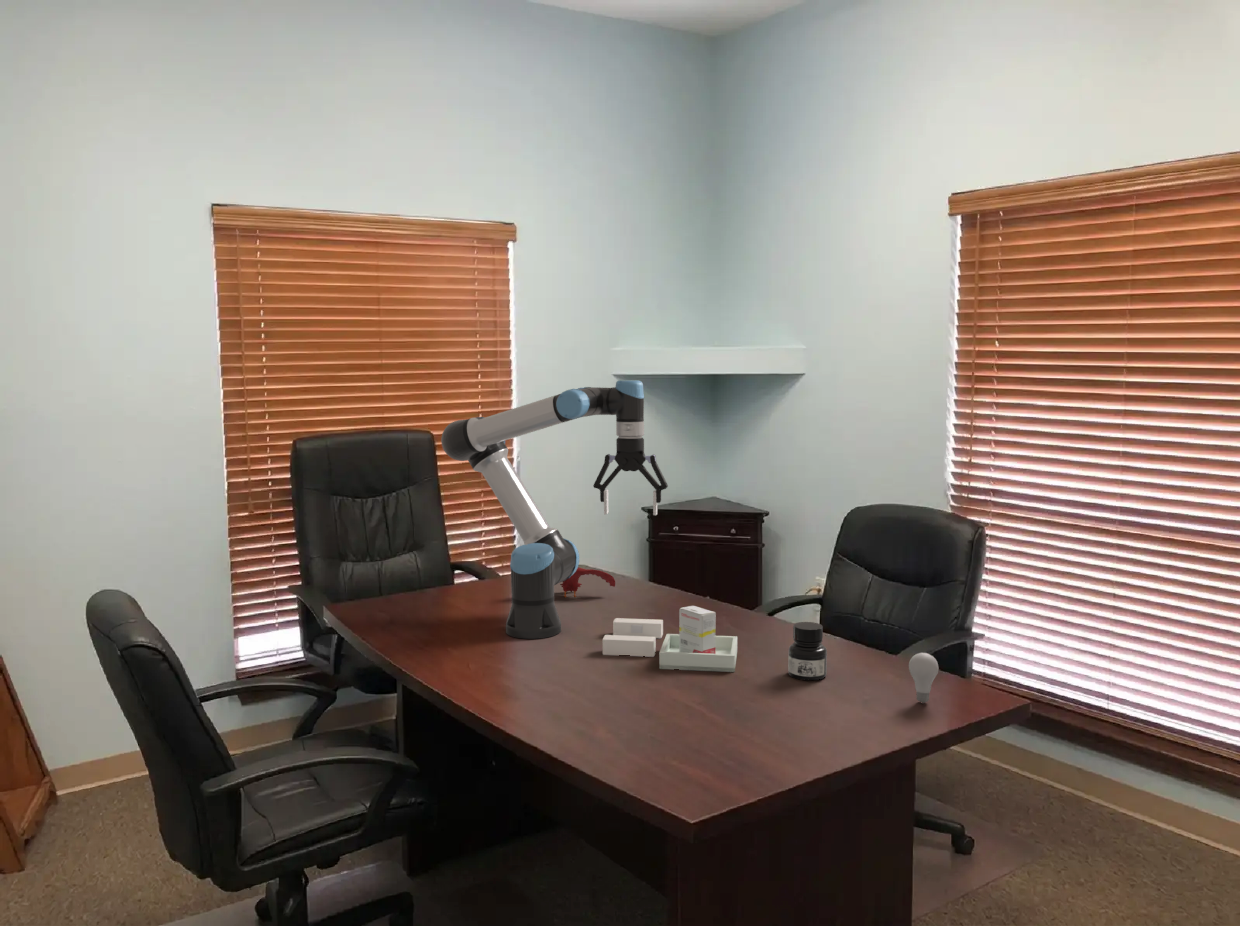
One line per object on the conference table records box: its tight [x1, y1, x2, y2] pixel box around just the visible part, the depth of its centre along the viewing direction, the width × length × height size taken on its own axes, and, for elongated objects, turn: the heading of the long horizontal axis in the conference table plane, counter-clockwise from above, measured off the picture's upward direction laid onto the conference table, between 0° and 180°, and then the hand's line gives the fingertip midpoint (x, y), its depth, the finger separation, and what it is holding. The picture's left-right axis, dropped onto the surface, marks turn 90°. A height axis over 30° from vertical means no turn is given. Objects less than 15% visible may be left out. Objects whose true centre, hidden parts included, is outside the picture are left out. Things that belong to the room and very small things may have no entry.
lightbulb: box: [908, 652, 940, 704], centre depth 208 cm, size 6×6×11 cm
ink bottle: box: [787, 621, 828, 681], centre depth 227 cm, size 10×9×12 cm
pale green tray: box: [658, 633, 738, 673], centre depth 239 cm, size 18×16×4 cm
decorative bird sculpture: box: [559, 566, 616, 598], centre depth 303 cm, size 28×9×15 cm
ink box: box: [678, 605, 717, 654], centre depth 239 cm, size 9×5×12 cm, turn 38°
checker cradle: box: [602, 617, 664, 658], centre depth 253 cm, size 13×20×4 cm, turn 171°
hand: (630, 514), depth 266 cm, fingers open, 13 cm apart
